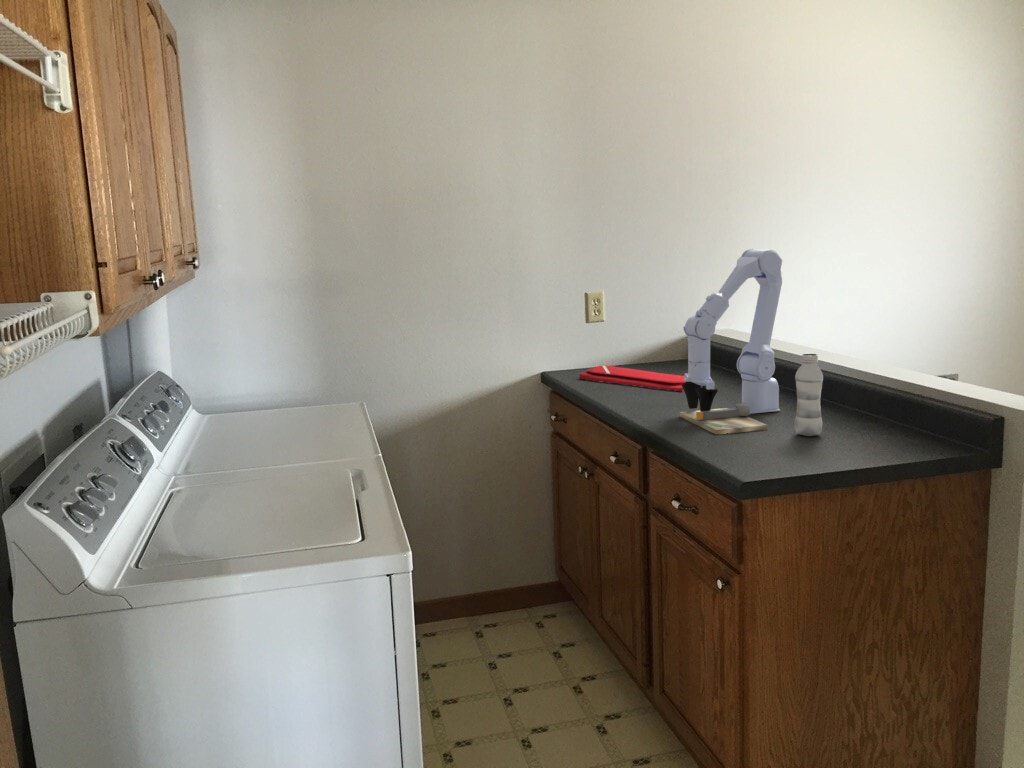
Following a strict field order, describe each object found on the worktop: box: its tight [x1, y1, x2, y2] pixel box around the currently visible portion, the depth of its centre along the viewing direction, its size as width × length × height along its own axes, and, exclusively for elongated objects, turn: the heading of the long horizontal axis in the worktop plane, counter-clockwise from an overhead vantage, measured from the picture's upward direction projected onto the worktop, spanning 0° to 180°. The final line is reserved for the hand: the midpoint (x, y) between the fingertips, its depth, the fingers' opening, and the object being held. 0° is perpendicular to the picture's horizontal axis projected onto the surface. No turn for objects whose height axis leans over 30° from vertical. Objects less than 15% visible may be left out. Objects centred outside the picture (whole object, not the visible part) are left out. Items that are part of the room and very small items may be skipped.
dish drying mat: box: [579, 364, 687, 392], centre depth 298 cm, size 16×41×4 cm, turn 46°
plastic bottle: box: [793, 353, 824, 437], centre depth 220 cm, size 6×7×20 cm
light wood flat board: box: [679, 407, 768, 435], centre depth 237 cm, size 15×23×1 cm, turn 14°
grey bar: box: [696, 402, 751, 420], centre depth 237 cm, size 15×4×3 cm, turn 104°
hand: (699, 411), depth 244 cm, fingers open, 7 cm apart
